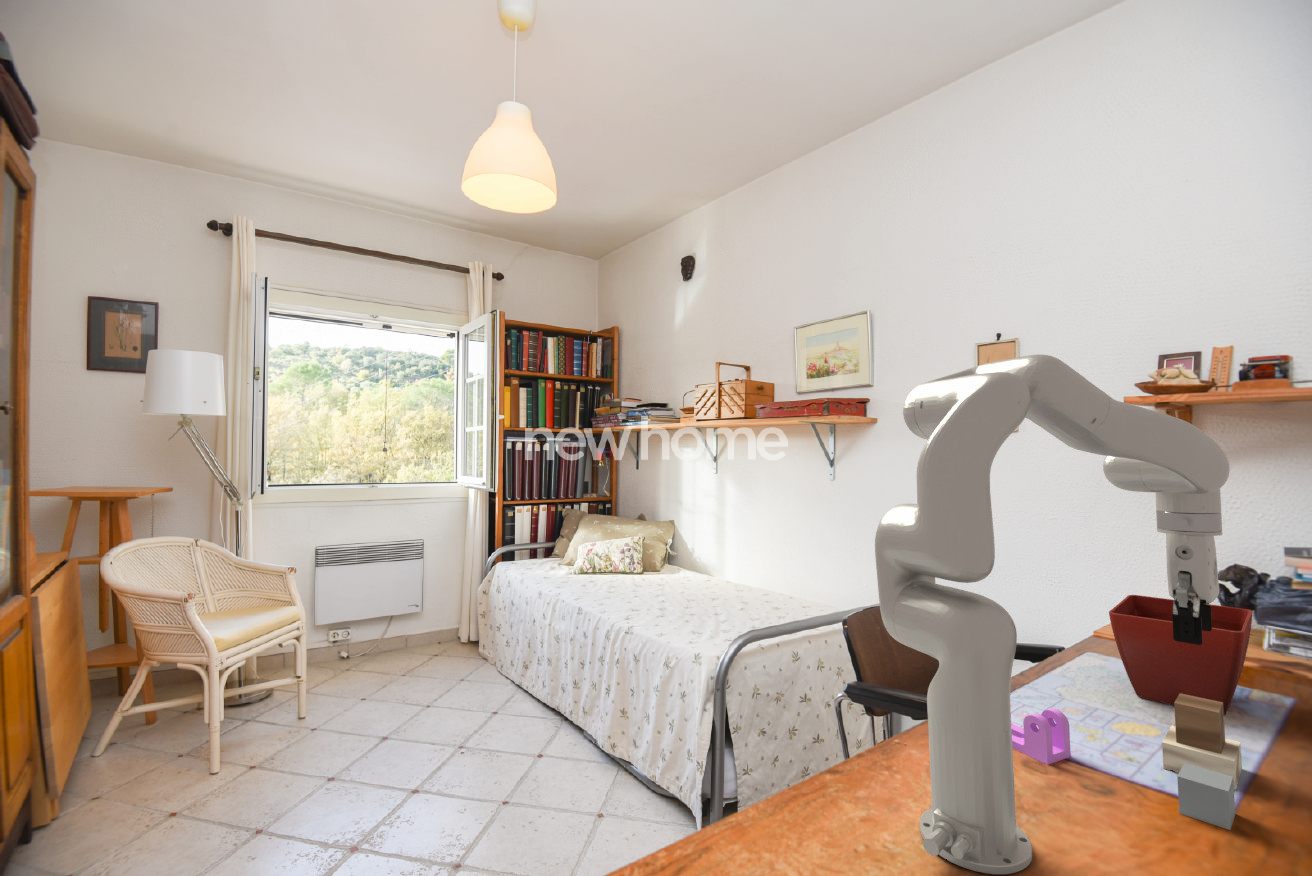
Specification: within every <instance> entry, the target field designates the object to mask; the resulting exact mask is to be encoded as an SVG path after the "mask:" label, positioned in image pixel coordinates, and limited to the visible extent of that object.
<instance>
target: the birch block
mask: <svg viewBox="0 0 1312 876" xmlns="http://www.w3.org/2000/svg"><path fill="white" fill-rule="evenodd" d="M1170 725H1171V726H1170V727H1169V729H1168V731H1167V733H1166V734H1165V736H1164V738H1163V740H1162V741H1161V745H1162V746H1161V748H1162V763H1163V765H1162V766H1163V769H1164V770H1166V769H1167V770H1166V771H1170V770H1173V771H1175V772H1174V773H1177V774H1179V772H1180V770H1181V768H1182V766H1183V764H1184V763H1186V764H1190V765H1194V766H1197V767H1201V768H1204V769H1208V770H1211V771H1215V772H1218V773H1222V774H1225V775H1229V776H1233V781H1234V790H1237V788H1238V785H1239V781H1240V778H1241V777H1240V776H1241V773H1242V771H1243V763H1242V762H1243V761H1242V745H1241V741H1238V740H1233V739H1229V738H1227V737H1225V745H1224V748H1223V750H1222V753H1221V754H1219V753H1215V752H1211V751H1208V750H1204V749H1200V748H1196V747H1192V746H1188V745H1184V744H1181V743H1177V742H1176V726H1175V725H1172V724H1170ZM1173 771H1172V772H1173ZM1239 777H1240V778H1239ZM1238 780H1239V781H1238ZM1237 784H1238V785H1237Z"/></svg>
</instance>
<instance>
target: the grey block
mask: <svg viewBox="0 0 1312 876" xmlns="http://www.w3.org/2000/svg"><path fill="white" fill-rule="evenodd" d="M1176 776H1177V779H1176V780H1177V794H1178V798H1177V799H1178V811H1179V812H1178V813H1179V814H1180V815H1183V816H1185V817H1190V818H1193V819H1196V820H1198V821H1201V822H1205V823H1207V824H1211V825H1214V826H1217V827H1219V828H1221V829H1222V828H1223V829H1225V830H1229V831H1231V830H1232V826H1233V824H1234V819H1235V816H1236V805H1235V804H1236V802H1235V789H1234V781H1233V776H1229V775H1225V774H1222V773H1218V772H1215V771H1211V770H1208V769H1204V768H1201V767H1197V766H1194V765H1190V764H1186V763H1184V764H1183V766H1182V768H1181V770H1180V772H1179V773H1177V775H1176Z"/></svg>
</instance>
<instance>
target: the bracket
mask: <svg viewBox="0 0 1312 876" xmlns="http://www.w3.org/2000/svg"><path fill="white" fill-rule="evenodd" d="M1022 724H1023V727H1021V726H1019V725H1017V724H1014V723H1012V722H1011V730H1012V749H1013V750H1015V751H1018V752H1020V753H1022V754H1024V755H1026V756H1029V758H1032V759H1034V760H1037V761H1038V762H1041V763H1043V764H1046V765H1047V766H1048V765H1051V764H1053V763H1056V762H1059V761H1062V760H1066V759H1068V758H1071V757H1072V754H1071V736H1070V735H1071V733H1070V722H1069V719H1068V718H1067V716H1066V715H1065V713H1063V712H1062V711H1061V710H1059V709H1057V708H1049V709H1045V710H1043V711H1042V712H1041V713H1040V714H1039V713H1032V714H1029V715H1026V716H1025V717H1024V719H1023V723H1022Z"/></svg>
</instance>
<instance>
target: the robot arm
mask: <svg viewBox="0 0 1312 876" xmlns="http://www.w3.org/2000/svg"><path fill="white" fill-rule="evenodd" d="M902 408H903V409H902V414H903V419H904V423H905V425H906V426H907V428H908V430H910V431H911V432H912V433H913V434H914V435H915V436H917V437H919V438H921V439H922V440H927V441H926V443H925V445H924V447H923V448H922V450H921V452H920V455H919V458H918V462H917V467H916V498H917V499H916V503H902V504H899V505H895V506H893V507H891V508H890V509H889V510H887V511H886V513H884V514H883V516H882V517H881V519H880V521H879V522H878V523H879V524H878V525H877V529H876V531H875V536H874V555H875V556H874V557H875V566H876V578H877V579H876V580H877V589H878V591H877V592H878V600H879V609H880V615H881V620H882V623H883V626H884V627H885V629H886V631H887V633H888V634H889V636H890V637H892V638H893V639H894V640H895V641H896V642H898V643H900V644H902V645H903V646H906V647H908V648H910V649H913V650H915V651H918V652H920V653H923V654H926V655H928V656H929V657H931V658H933V659H936V660H937V661H938V664H939V665H938V668H937V670H936V673H935V674H934V676H933V678H932V679H931V681H930V683H929V686H928V688H927V695H926V705H927V707H926V709H927V712H926V713H927V723H928V724H927V725H928V726H927V728H928V747H929V749H928V751H929V771H930V772H929V773H930V795H931V807H930V808H927V809H926V810H925V811H924V812H923V813H922V814H921V816H920V819H919V829H920V834H921V836H922V837H921V838H922V839H923V841H922V846H923V848H924V850H925V852H926V853H927V854H928V855H930V856H931V857H937V856H938V855H939V856H940V857H942V858H943V859H944V860H946V859H947V861H948V862H950V863H952V864H955V865H957V866H959V867H961V868H963V869H967V870H970V871H974V872H976V873H977V872H978V873H982V874H989V875H990V874H991V875H1011V874H1015V873H1018V872H1020V871H1023V870H1025V869H1026V868H1027V867H1029V865H1030V864H1031V862H1032V861H1033V847H1032V843H1031V841H1030V839H1029V837H1028V835H1027V834H1026V833H1025V832H1024V831H1023V830H1022V829H1021V828H1020V827H1019V826H1018V825H1017V816H1016V813H1017V812H1016V796H1015V795H1016V794H1015V774H1014V757H1013V756H1014V752H1013V750H1014V749H1013V748H1012V730H1011V723H1012V716H1011V715H1012V711H1011V683H1012V673H1013V666H1014V660H1015V655H1016V650H1017V649H1016V648H1017V638H1018V636H1017V635H1018V633H1017V627H1016V624H1015V622H1014V619H1013V618H1012V616H1011V615H1010V613H1009V612H1008V611H1007V610H1006V609H1005V608H1004V607H1003V606H1002V605H1001V604H999V603H997V602H996V601H995V600H993V599H992V598H991V599H990V598H989V597H986V596H984V595H982V594H980V593H975V592H972V591H969V590H964V589H960V588H957V587H953V586H947V585H946V586H945V585H942V584H938V583H936V578H937V579H941V580H945V581H951V582H955V583H961V584H962V583H963V584H964V583H966V584H969V583H977V582H980V581H983V580H985V579H986V578H987V577H988V576H989V575H990V574H991V573H992V571H993V568H994V565H995V559H996V555H995V553H996V552H995V551H996V549H995V548H996V547H995V544H996V543H995V535H994V533H995V532H994V521H993V509H992V498H991V469H992V466H993V462H994V459H995V458H996V455H997V453H998V451H999V450H1000V448H1001V447H1002V445H1003V444H1004V443H1005V441H1006V440H1007V439H1008V438H1009V437H1010V436H1011V435H1012V434H1013V433H1014V432H1015V431H1016V430H1017V429H1018V427H1019V426H1020V425H1022V423H1023V421H1024V420H1025V419H1027V420H1029V421H1031V422H1032V423H1033V424H1035V425H1037V426H1039V427H1040V428H1041V429H1043V430H1044V431H1046V432H1048V433H1049V434H1050V435H1052V436H1053V437H1055V439H1058V440H1059V441H1060V442H1062V443H1063V444H1064V445H1066V446H1068V447H1069V448H1072V449H1073V450H1077V451H1082V452H1084V453H1085V452H1086V453H1090V454H1094V455H1099V456H1105V457H1104V460H1103V464H1102V469H1103V474H1104V476H1105V477H1106V479H1107V481H1108V482H1109V483H1110V484H1111V485H1113V486H1115V487H1116V488H1118V489H1121V490H1125V491H1127V492H1137V493H1138V492H1139V493H1155V512H1156V531H1157V532H1158V533H1162V534H1165V538H1166V539H1165V540H1166V541H1165V548H1166V575H1167V576H1166V577H1167V587H1168V595H1169V597H1171V598H1172V599H1173V600H1174V605H1173V613H1172V618H1173V639H1174V640H1175V641H1178V642H1184V643H1190V644H1196V645H1201V644H1202V643H1203V638H1202V630H1203V631H1211V630H1212V618H1211V605H1212V604H1211V603H1212V602H1214V601H1215V600H1216V599H1217V598H1218V596H1219V594H1220V583H1219V574H1218V561H1217V549H1216V541H1215V537H1218V536H1219V537H1220V536H1222V535H1223V519H1222V501H1221V499H1222V498H1221V488H1223V486H1224V485H1225V484H1226V482H1227V481H1228V479H1229V477H1230V463H1229V459H1228V457H1227V455H1226V453H1225V451H1224V450H1223V449H1222V447H1221V446H1220V445H1219V444H1218V443H1217V442H1216V441H1215V440H1214V439H1213V438H1211V437H1210V436H1209V435H1207V433H1205V432H1204V431H1202V430H1201V428H1199V427H1197V426H1195V425H1194V424H1192V423H1190V422H1188V421H1186V420H1184V419H1181V418H1178V417H1176V416H1172V415H1169V414H1166V413H1163V412H1159V411H1156V410H1152V409H1148V408H1145V407H1142V406H1139V405H1135V404H1131V403H1128V402H1123V401H1121V400H1120V401H1119V400H1116V399H1114V398H1113V397H1111V396H1110V395H1109V394H1107V393H1106V392H1104V391H1103V390H1102V389H1100V388H1099V387H1098V386H1096V385H1095V384H1094V383H1092V382H1091V381H1089V380H1088V379H1087V378H1086V377H1084V376H1083V375H1082V374H1081V373H1079V372H1078V371H1077V370H1075V369H1074V368H1072V367H1071V366H1070V365H1068V364H1067V363H1065V362H1064V361H1062V360H1061V359H1059V358H1057V357H1055V356H1052V355H1048V354H1030V355H1024V356H1017V357H1012V358H1009V359H1007V358H1006V359H1001V360H996V361H991V362H986V363H982V364H980V365H976V366H973V367H970V368H966V369H964V370H961V371H958V372H955V373H951V374H949V375H945V376H942V377H938V378H935V379H933V380H929V381H926V382H923V383H920V384H919V385H917V386H915V387H914V388H913V389H912V390H911V391H909V393H908V394H907V396H906V398H905V400H904V404H903V407H902ZM1205 604H1207V605H1205ZM1209 604H1211V605H1209Z"/></svg>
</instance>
